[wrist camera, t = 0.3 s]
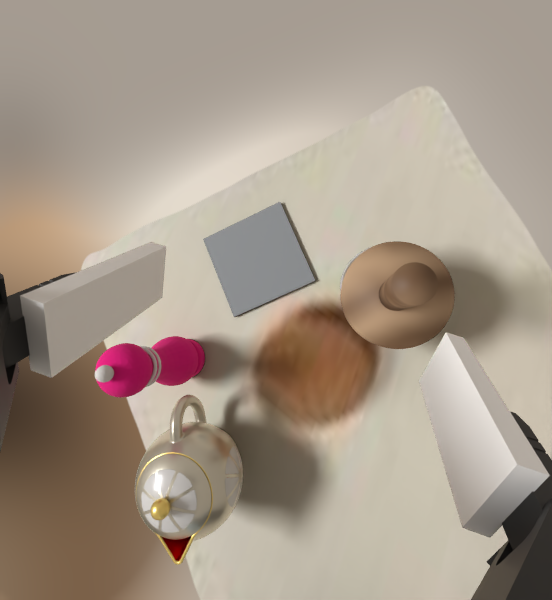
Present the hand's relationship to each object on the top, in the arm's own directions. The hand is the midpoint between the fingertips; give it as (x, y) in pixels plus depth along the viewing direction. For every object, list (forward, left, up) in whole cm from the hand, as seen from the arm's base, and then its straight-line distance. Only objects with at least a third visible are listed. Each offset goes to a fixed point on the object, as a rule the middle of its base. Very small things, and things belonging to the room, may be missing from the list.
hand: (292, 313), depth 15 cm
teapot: (-10, +23, -35) cm, 43 cm away
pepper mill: (+4, +22, -35) cm, 41 cm away
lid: (0, -10, -27) cm, 28 cm away
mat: (+14, +5, -35) cm, 37 cm away
